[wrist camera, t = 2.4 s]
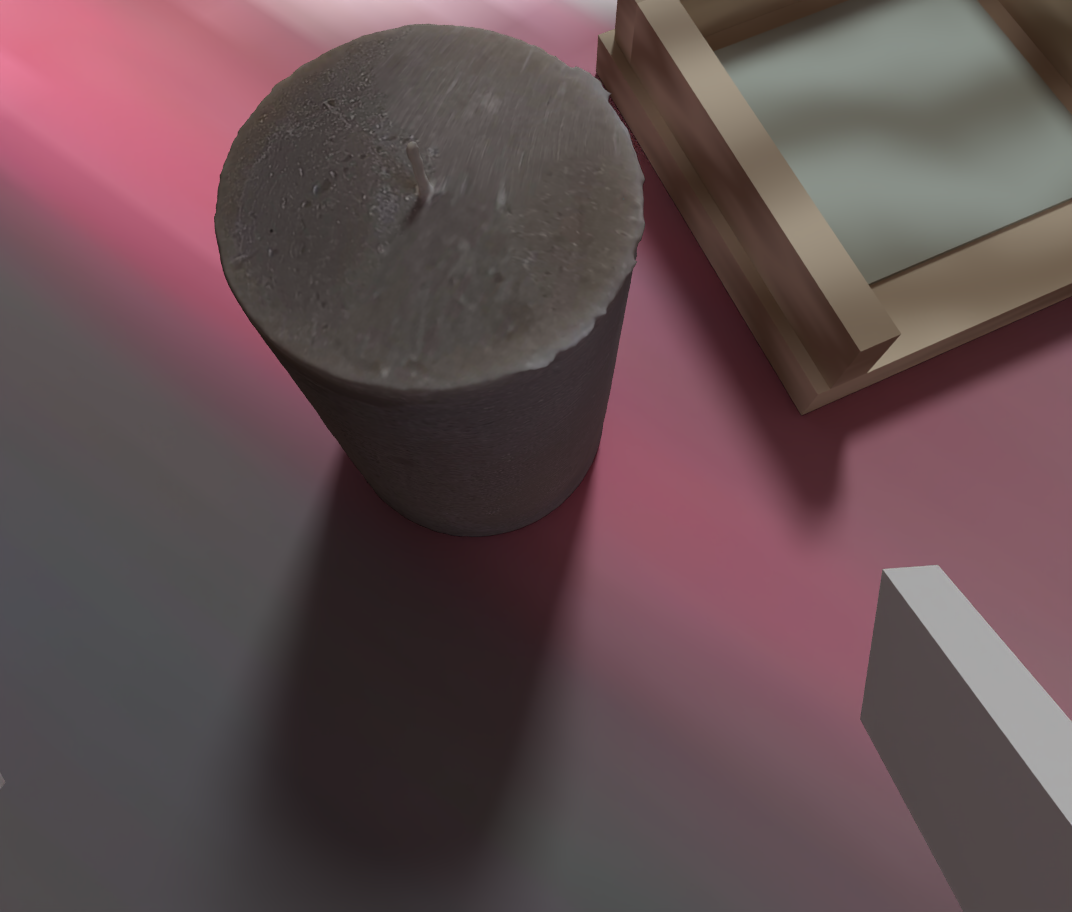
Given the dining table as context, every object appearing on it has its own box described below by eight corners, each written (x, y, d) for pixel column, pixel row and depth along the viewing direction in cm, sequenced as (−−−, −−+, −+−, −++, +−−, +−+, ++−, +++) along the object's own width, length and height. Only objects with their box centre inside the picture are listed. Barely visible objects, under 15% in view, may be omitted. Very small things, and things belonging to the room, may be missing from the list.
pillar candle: (299, 420, 31) (83, 164, 16) (479, 256, 33) (424, -97, 19) (481, 595, 29) (412, 476, 14) (660, 408, 31) (756, 140, 16)
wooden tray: (596, 71, 36) (602, -29, 31) (943, -60, 38) (999, -173, 33) (801, 415, 30) (846, 357, 26) (1194, 241, 32) (1304, 158, 28)
